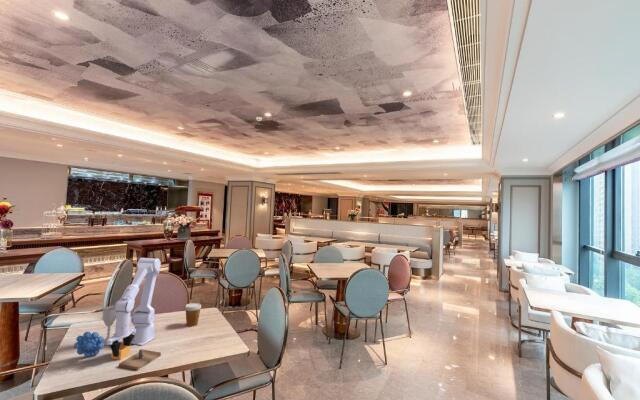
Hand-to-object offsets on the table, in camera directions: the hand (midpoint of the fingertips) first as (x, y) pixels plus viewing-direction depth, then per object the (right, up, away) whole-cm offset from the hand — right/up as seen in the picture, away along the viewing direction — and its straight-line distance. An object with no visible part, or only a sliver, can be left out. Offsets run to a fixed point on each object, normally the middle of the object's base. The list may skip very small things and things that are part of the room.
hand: (120, 353), depth 143 cm
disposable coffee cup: (+16, -4, +41) cm, 45 cm away
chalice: (-16, -1, +13) cm, 21 cm away
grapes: (-14, -1, -2) cm, 14 cm away
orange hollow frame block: (0, -1, 0) cm, 1 cm away
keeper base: (+11, -2, -3) cm, 12 cm away
